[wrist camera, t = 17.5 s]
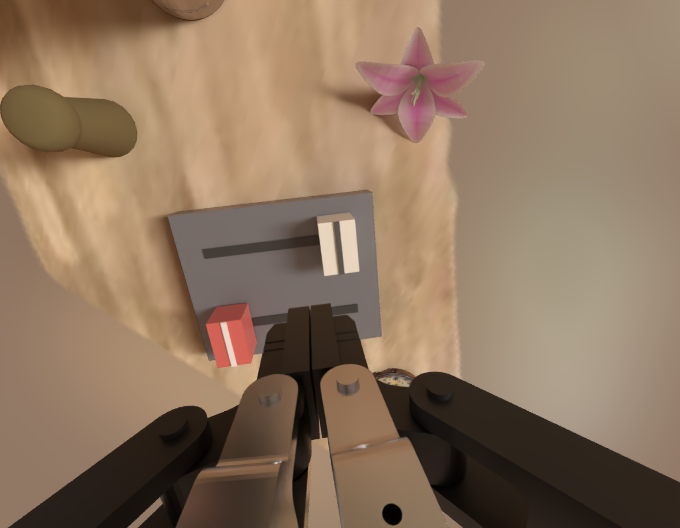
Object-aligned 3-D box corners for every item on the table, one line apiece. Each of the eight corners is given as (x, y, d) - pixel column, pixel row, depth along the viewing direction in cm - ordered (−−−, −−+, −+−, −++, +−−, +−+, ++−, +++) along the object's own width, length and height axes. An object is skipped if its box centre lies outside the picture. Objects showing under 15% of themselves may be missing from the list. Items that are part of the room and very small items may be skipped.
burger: (353, 369, 50) (360, 404, 42) (425, 364, 51) (444, 398, 44) (352, 428, 53) (358, 469, 46) (419, 423, 54) (436, 462, 47)
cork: (108, 167, 37) (29, 171, 26) (66, 118, 35) (-37, 102, 24) (148, 138, 36) (84, 131, 26) (109, 87, 34) (22, 57, 24)
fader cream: (316, 216, 37) (317, 224, 33) (349, 212, 38) (355, 219, 33) (322, 263, 39) (324, 276, 35) (354, 259, 40) (359, 272, 35)
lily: (341, 59, 36) (338, 90, 30) (435, -25, 31) (457, -9, 24) (394, 139, 43) (401, 178, 37) (479, 82, 38) (505, 116, 31)
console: (177, 211, 39) (166, 216, 36) (367, 189, 40) (372, 192, 37) (215, 348, 46) (208, 361, 43) (377, 325, 47) (382, 337, 44)
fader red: (216, 306, 40) (205, 325, 36) (248, 302, 40) (240, 320, 36) (226, 347, 42) (217, 368, 38) (256, 342, 42) (250, 364, 38)
